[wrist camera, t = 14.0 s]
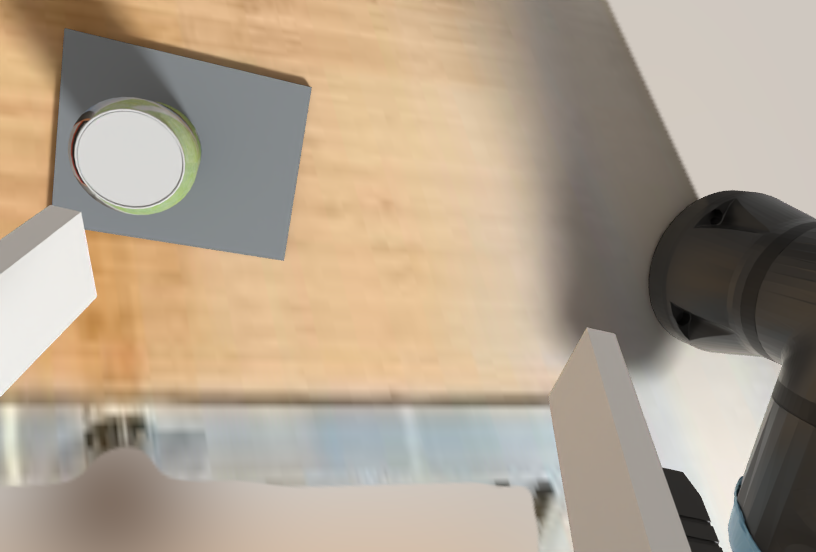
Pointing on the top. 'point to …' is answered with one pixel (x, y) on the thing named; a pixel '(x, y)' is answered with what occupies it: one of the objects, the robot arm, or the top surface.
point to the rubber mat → (219, 135)
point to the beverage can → (134, 154)
